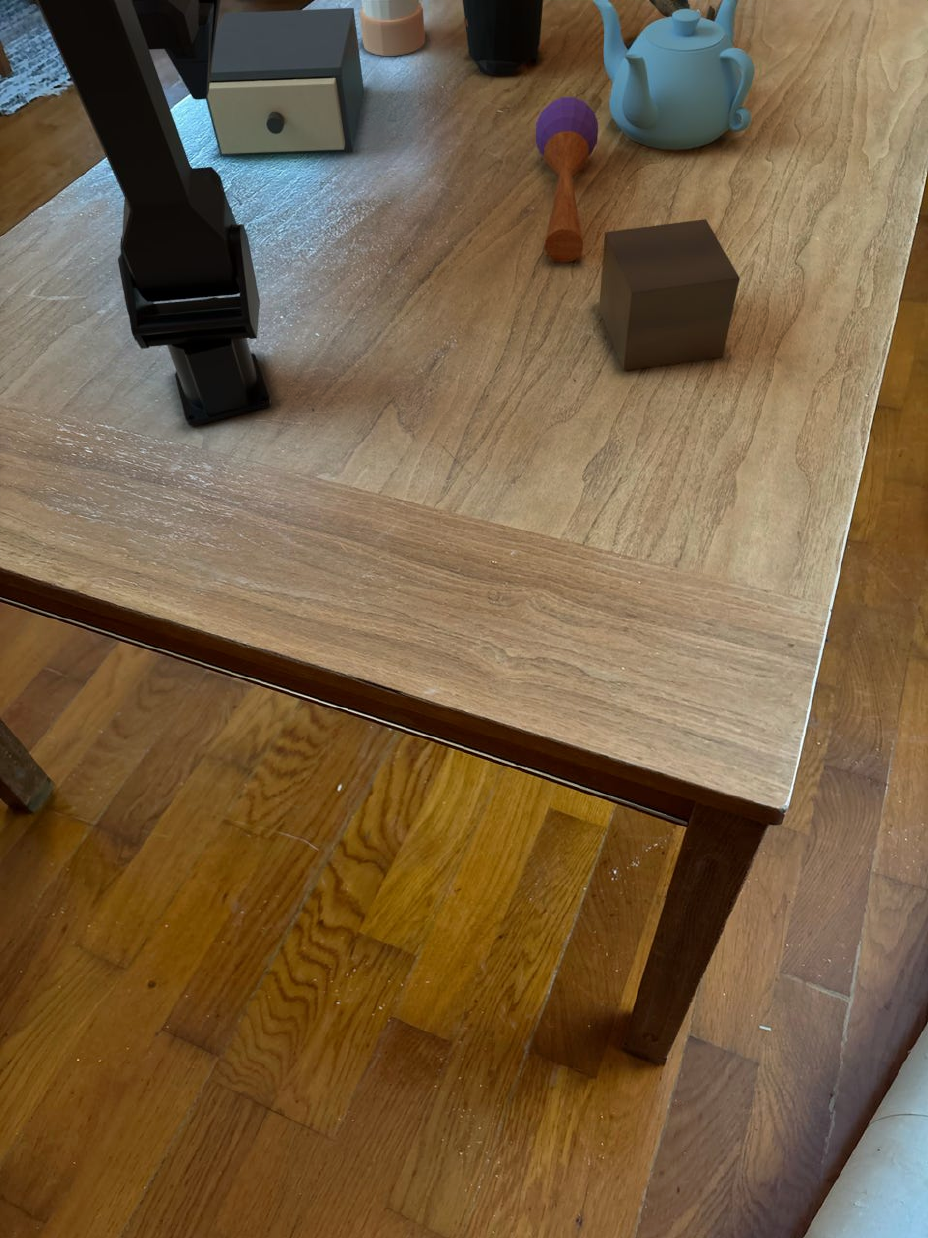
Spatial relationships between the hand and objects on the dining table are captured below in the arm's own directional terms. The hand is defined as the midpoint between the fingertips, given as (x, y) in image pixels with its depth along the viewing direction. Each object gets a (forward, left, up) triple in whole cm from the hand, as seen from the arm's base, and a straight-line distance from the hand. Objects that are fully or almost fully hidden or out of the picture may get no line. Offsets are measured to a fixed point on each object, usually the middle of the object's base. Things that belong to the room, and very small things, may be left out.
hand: (201, 97), depth 75 cm
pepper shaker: (+35, -25, -13) cm, 45 cm away
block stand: (-26, -29, -13) cm, 41 cm away
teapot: (+5, -45, -13) cm, 47 cm away
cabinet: (+21, -10, -13) cm, 27 cm away
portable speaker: (+25, -35, -13) cm, 45 cm away
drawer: (+19, -9, -12) cm, 24 cm away
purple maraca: (-5, -30, -13) cm, 33 cm away
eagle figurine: (+20, -53, -13) cm, 58 cm away
